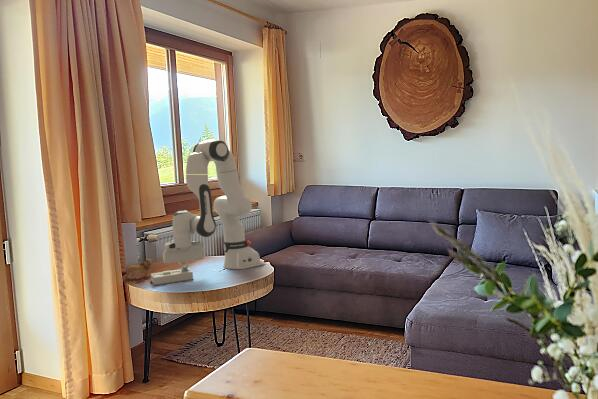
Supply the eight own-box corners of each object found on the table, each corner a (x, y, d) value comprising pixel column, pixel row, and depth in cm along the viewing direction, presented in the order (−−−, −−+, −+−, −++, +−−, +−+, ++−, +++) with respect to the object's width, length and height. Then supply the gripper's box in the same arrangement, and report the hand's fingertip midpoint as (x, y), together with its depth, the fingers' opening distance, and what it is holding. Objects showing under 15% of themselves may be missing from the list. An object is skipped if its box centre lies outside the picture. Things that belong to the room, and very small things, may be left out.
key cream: (160, 279, 258) (160, 274, 257) (161, 281, 255) (161, 275, 254) (154, 280, 256) (153, 275, 256) (155, 282, 253) (154, 276, 253)
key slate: (188, 274, 263) (187, 268, 263) (189, 275, 260) (188, 269, 260) (181, 275, 262) (181, 269, 262) (183, 276, 259) (182, 270, 259)
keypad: (188, 275, 268) (187, 267, 267) (193, 280, 257) (192, 272, 256) (151, 280, 260) (150, 273, 260) (154, 286, 249) (154, 278, 249)
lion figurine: (152, 274, 275) (150, 257, 274) (154, 276, 271) (153, 259, 270) (123, 278, 268) (122, 261, 267) (125, 280, 264) (124, 263, 263)
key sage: (169, 276, 259) (169, 270, 259) (171, 277, 257) (170, 271, 256) (163, 277, 258) (162, 271, 258) (164, 278, 255) (164, 272, 255)
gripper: (201, 239, 266) (203, 265, 268) (161, 244, 258) (163, 271, 259) (204, 241, 261) (206, 268, 262) (163, 246, 252) (165, 273, 254)
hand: (184, 269), depth 261 cm, fingers closed
